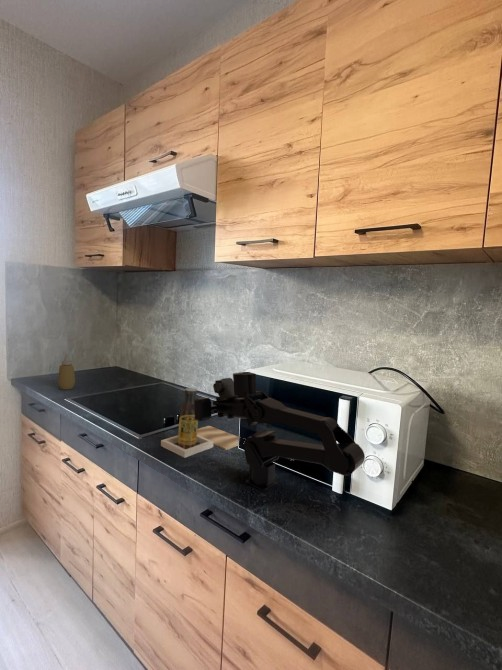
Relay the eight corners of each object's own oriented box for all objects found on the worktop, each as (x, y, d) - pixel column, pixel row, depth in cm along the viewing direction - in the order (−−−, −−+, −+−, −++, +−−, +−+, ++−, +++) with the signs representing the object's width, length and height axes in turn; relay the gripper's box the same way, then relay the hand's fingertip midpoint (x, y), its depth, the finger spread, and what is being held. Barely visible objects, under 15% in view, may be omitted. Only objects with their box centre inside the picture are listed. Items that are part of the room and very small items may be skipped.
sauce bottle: (178, 451, 117) (180, 391, 116) (176, 443, 123) (179, 387, 122) (198, 449, 119) (200, 391, 117) (195, 442, 125) (198, 386, 123)
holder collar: (213, 447, 122) (213, 441, 122) (184, 457, 113) (184, 451, 112) (189, 436, 130) (189, 431, 130) (160, 446, 120) (161, 440, 120)
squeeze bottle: (76, 386, 191) (76, 353, 189) (73, 390, 183) (74, 355, 182) (59, 386, 188) (59, 352, 187) (56, 390, 181) (56, 355, 179)
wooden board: (247, 441, 128) (247, 440, 128) (225, 450, 120) (226, 448, 120) (208, 427, 141) (208, 425, 141) (187, 433, 133) (187, 432, 133)
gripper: (257, 377, 111) (223, 377, 122) (213, 382, 97) (178, 381, 108) (259, 414, 111) (223, 410, 121) (214, 423, 97) (179, 418, 107)
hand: (202, 404), depth 114 cm, fingers open, 9 cm apart
